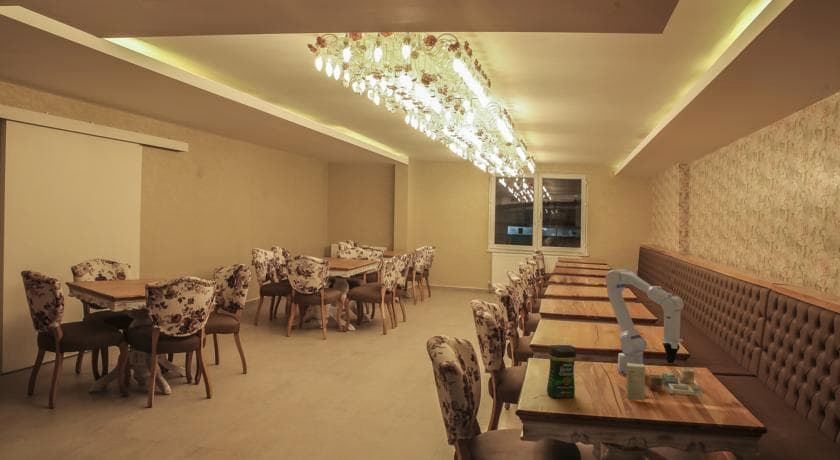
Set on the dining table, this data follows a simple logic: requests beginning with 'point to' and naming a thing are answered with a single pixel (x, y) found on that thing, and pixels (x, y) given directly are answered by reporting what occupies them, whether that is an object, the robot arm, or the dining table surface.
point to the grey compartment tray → (684, 389)
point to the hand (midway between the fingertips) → (670, 362)
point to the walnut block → (655, 382)
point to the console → (669, 379)
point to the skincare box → (635, 381)
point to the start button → (669, 375)
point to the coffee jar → (561, 371)
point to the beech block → (687, 376)
